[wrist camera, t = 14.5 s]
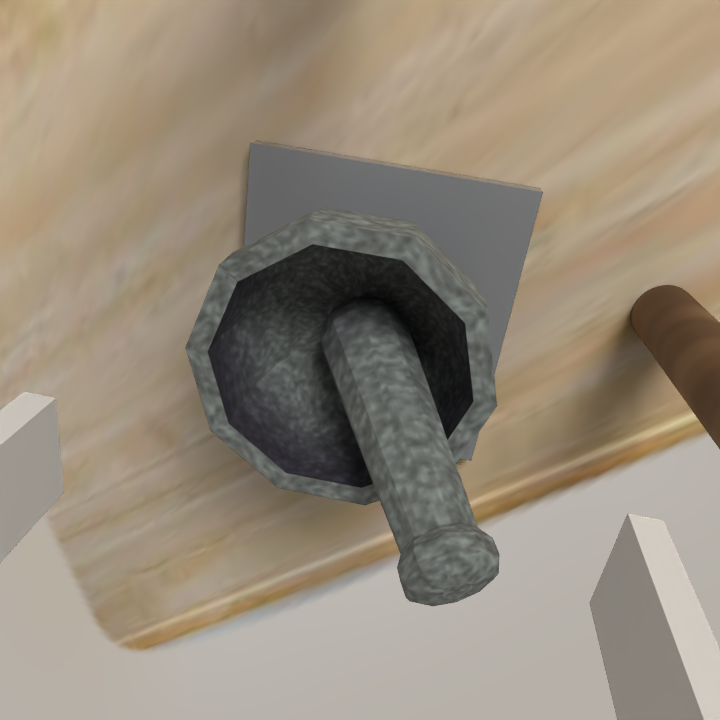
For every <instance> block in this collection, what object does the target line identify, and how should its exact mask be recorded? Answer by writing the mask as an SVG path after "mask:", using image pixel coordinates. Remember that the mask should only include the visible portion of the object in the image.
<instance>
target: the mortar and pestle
mask: <svg viewBox="0 0 720 720" xmlns="http://www.w3.org/2000/svg"><path fill="white" fill-rule="evenodd" d="M186 351H187V354H188V357H189V361H190V364H191V367H192V371H193V374H194V377H195V380H196V384H197V387H198V390H199V394H200V397H201V400H202V403H203V407H204V410H205V413H206V417H207V420H208V423H209V427H210V430H211V431H212V432H213V433H214V434H215V435H216V436H218V437H219V438H220V439H221V440H222V441H223V442H225V443H226V444H227V445H228V446H229V447H230V448H232V449H233V450H234V451H235V452H236V453H238V454H239V455H240V456H241V457H242V458H243V459H245V460H246V461H247V462H248V463H249V464H251V465H252V466H253V467H254V468H255V469H256V470H258V471H259V472H260V473H261V474H262V475H263V476H265V477H266V478H267V479H268V480H269V481H271V482H272V483H273V484H274V485H275V486H276V487H278V488H281V489H286V490H291V491H296V492H301V493H306V494H311V495H316V496H321V497H326V498H331V499H336V500H342V501H347V502H352V503H357V504H362V505H367V504H370V503H373V502H376V501H379V500H380V502H381V504H382V507H383V510H384V512H385V515H386V517H387V520H388V522H389V525H390V528H391V530H392V533H393V535H394V538H395V540H396V543H397V546H398V548H399V551H400V553H401V555H400V559H399V563H398V567H397V569H398V573H399V577H400V581H401V584H402V587H403V590H404V593H405V596H406V598H407V599H408V600H409V601H411V602H416V603H420V604H425V605H430V606H437V605H442V604H448V603H453V602H457V601H460V600H462V599H464V598H466V597H469V596H471V595H473V594H475V593H477V592H480V591H481V590H482V589H483V588H484V587H485V586H486V585H487V584H488V583H489V582H490V581H492V580H493V579H494V578H495V577H496V576H497V574H498V573H499V552H498V550H497V547H496V545H495V543H494V540H493V538H492V537H490V536H489V535H487V534H486V533H485V532H483V531H482V530H480V529H479V528H478V527H477V524H476V521H475V518H474V515H473V512H472V509H471V507H470V504H469V501H468V498H467V495H466V492H465V489H464V486H463V484H462V481H461V478H460V475H459V472H458V469H457V466H456V463H457V462H458V461H459V459H460V458H461V456H462V455H463V453H464V452H465V451H466V449H467V448H468V446H469V445H470V443H471V442H472V441H473V439H474V438H475V436H476V435H477V434H478V432H479V431H480V429H481V428H482V426H483V425H484V424H485V422H486V421H487V419H488V418H489V416H490V415H491V414H492V412H493V411H494V409H495V408H496V407H497V402H496V391H495V380H494V370H493V359H492V348H491V337H490V326H489V315H488V309H487V303H486V298H485V297H484V295H483V294H482V293H481V291H480V290H479V289H478V288H477V286H476V285H475V284H474V283H473V282H472V281H471V280H470V279H469V278H468V277H467V276H466V275H465V274H464V273H463V272H462V271H461V270H460V268H459V267H458V266H457V265H456V264H455V263H454V262H453V261H452V260H451V259H450V258H449V257H448V256H447V255H446V254H445V253H444V252H443V251H442V250H441V249H440V248H439V247H438V246H437V245H436V244H435V243H434V242H433V240H432V239H431V238H430V237H429V236H428V235H427V234H426V233H425V232H424V231H423V230H422V229H421V228H420V227H419V226H418V225H417V224H416V223H414V222H408V221H403V220H397V219H391V218H385V217H380V216H374V215H368V214H362V213H357V212H351V211H345V210H340V209H334V208H328V207H325V208H321V209H316V210H314V211H312V212H311V213H309V214H307V215H305V216H303V217H301V218H299V219H297V220H295V221H293V222H291V223H289V224H287V225H285V226H283V227H282V228H280V229H278V230H276V231H274V232H272V233H270V234H268V235H266V236H264V237H262V238H260V239H258V240H256V241H255V242H253V243H251V244H249V245H247V246H245V247H243V248H241V249H239V250H237V251H235V252H233V253H232V254H231V255H230V256H228V257H227V258H226V259H225V260H224V261H223V262H222V263H221V264H219V266H218V269H217V271H216V273H215V276H214V278H213V281H212V283H211V286H210V288H209V291H208V293H207V296H206V298H205V301H204V303H203V306H202V308H201V311H200V313H199V316H198V318H197V320H196V323H195V325H194V328H193V330H192V333H191V335H190V338H189V340H188V343H187V345H186Z"/></svg>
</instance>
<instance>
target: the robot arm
mask: <svg viewBox="0 0 720 720" xmlns="http://www.w3.org/2000/svg"><path fill="white" fill-rule="evenodd" d="M63 493H64V486H63V475H62V464H61V452H60V441H59V430H58V418H57V407H56V398H53V397H48V396H43V395H38V394H33V393H28V392H23V393H22V394H21V395H19V396H18V397H17V398H16V399H14V400H13V401H12V402H10V403H9V404H8V405H7V406H5V407H4V408H3V409H1V410H0V563H1V562H2V561H3V559H4V558H5V557H6V556H7V555H8V554H9V553H10V552H11V550H12V549H13V548H14V547H15V546H16V545H17V544H18V543H19V542H20V541H21V539H22V538H23V537H24V536H25V535H26V534H27V533H28V532H29V531H30V529H31V528H32V527H33V526H34V525H35V524H36V523H37V522H38V521H39V519H40V518H41V517H42V516H43V515H44V514H45V513H46V512H47V511H48V509H49V508H50V507H51V506H52V505H53V504H54V503H55V502H56V501H57V499H58V498H59V497H60V496H61V495H62V494H63ZM590 607H591V611H592V615H593V620H594V624H595V628H596V632H597V636H598V640H599V645H600V649H601V653H602V657H603V661H604V666H605V670H606V674H607V678H608V683H609V687H610V691H611V695H612V699H613V704H614V707H615V712H616V716H617V720H720V648H719V646H718V644H717V641H716V639H715V637H714V634H713V632H712V630H711V628H710V625H709V623H708V621H707V619H706V616H705V614H704V612H703V610H702V607H701V605H700V603H699V600H698V598H697V596H696V594H695V591H694V589H693V587H692V584H691V582H690V580H689V578H688V576H687V573H686V571H685V568H684V566H683V564H682V562H681V559H680V557H679V555H678V553H677V550H676V548H675V546H674V544H673V541H672V539H671V537H670V534H669V532H668V530H667V527H666V525H665V523H664V521H663V520H659V519H654V518H649V517H644V516H639V515H634V514H629V513H628V514H627V516H626V519H625V521H624V523H623V526H622V528H621V531H620V533H619V535H618V538H617V540H616V542H615V545H614V547H613V549H612V552H611V554H610V556H609V559H608V561H607V563H606V566H605V568H604V570H603V573H602V575H601V578H600V580H599V582H598V585H597V587H596V589H595V591H594V594H593V596H592V598H591V601H590Z"/></svg>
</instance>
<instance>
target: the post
mask: <svg viewBox="0 0 720 720" xmlns="http://www.w3.org/2000/svg"><path fill="white" fill-rule="evenodd" d="M631 322H632V325H633V328H634V330H635V331H636V332H637V334H638V335H639V337H640V338H641V339H642V341H643V342H644V344H645V345H646V346H647V348H648V349H649V351H650V352H651V353H652V355H653V356H654V358H655V359H656V360H657V362H658V363H659V365H660V366H661V367H662V369H663V370H664V372H665V373H666V374H667V376H668V377H669V379H670V380H671V381H672V383H673V384H674V386H675V387H676V388H677V390H678V391H679V393H680V394H681V395H682V397H683V398H684V400H685V401H686V402H687V404H688V405H689V407H690V408H691V410H692V411H693V412H694V414H695V415H696V417H697V418H698V419H699V421H700V422H701V424H702V425H703V426H704V428H705V429H706V431H707V432H708V433H709V435H710V436H711V438H712V439H713V440H714V442H715V443H716V445H717V446H718V447H719V449H720V323H719V322H718V321H717V320H716V319H715V318H714V317H713V316H712V315H711V314H710V313H709V312H708V311H707V310H706V309H705V308H703V307H702V306H701V305H700V304H699V303H698V302H697V301H696V300H695V299H694V298H693V297H692V296H691V295H690V294H689V293H688V292H686V291H685V290H683V289H682V288H679V287H676V286H671V285H664V286H658V287H655V288H652V289H650V290H648V291H647V292H645V293H644V294H643V295H642V296H641V297H640V298H639V299H638V300H637V301H636V303H635V305H634V307H633V309H632V313H631Z"/></svg>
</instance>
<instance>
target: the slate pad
mask: <svg viewBox="0 0 720 720" xmlns="http://www.w3.org/2000/svg"><path fill="white" fill-rule="evenodd" d="M542 193H543V191H542V190H541V189H540V188H536V187H530V186H524V185H518V184H512V183H506V182H500V181H494V180H489V179H483V178H477V177H471V176H465V175H459V174H453V173H447V172H441V171H435V170H429V169H423V168H417V167H411V166H405V165H400V164H394V163H388V162H382V161H376V160H370V159H364V158H358V157H352V156H346V155H340V154H334V153H328V152H322V151H316V150H310V149H305V148H299V147H293V146H287V145H281V144H275V143H269V142H263V141H257V140H256V141H253V142H251V143H250V157H249V173H248V188H247V204H246V219H245V235H244V247H245V246H247V245H249V244H251V243H253V242H255V241H256V240H258V239H260V238H262V237H264V236H266V235H268V234H270V233H272V232H274V231H276V230H278V229H280V228H282V227H283V226H285V225H287V224H289V223H291V222H293V221H295V220H297V219H299V218H301V217H303V216H305V215H307V214H309V213H311V212H312V211H314V210H316V209H321V208H325V207H328V208H334V209H340V210H345V211H351V212H357V213H362V214H368V215H374V216H380V217H385V218H391V219H397V220H403V221H408V222H414V223H416V224H417V225H418V226H419V227H420V228H421V229H422V230H423V231H424V232H425V233H426V234H427V235H428V236H429V237H430V238H431V239H432V240H433V242H434V243H435V244H436V245H437V246H438V247H439V248H440V249H441V250H442V251H443V252H444V253H445V254H446V255H447V256H448V257H449V258H450V259H451V260H452V261H453V262H454V263H455V264H456V265H457V266H458V267H459V268H460V270H461V271H462V272H463V273H464V274H465V275H466V276H467V277H468V278H469V279H470V280H471V281H472V282H473V283H474V284H475V285H476V286H477V288H478V289H479V290H480V291H481V293H482V294H483V295H484V297H485V298H486V303H487V309H488V315H489V326H490V337H491V348H492V359H493V370H494V374H495V370H496V366H497V362H498V359H499V355H500V351H501V347H502V344H503V340H504V336H505V332H506V329H507V325H508V321H509V317H510V314H511V310H512V306H513V302H514V299H515V295H516V291H517V287H518V284H519V280H520V276H521V272H522V268H523V265H524V261H525V257H526V253H527V250H528V246H529V242H530V238H531V235H532V231H533V227H534V223H535V220H536V216H537V212H538V208H539V205H540V201H541V197H542ZM478 434H479V432H478ZM478 434H477V435H476V436H475V438H474V439H473V441H472V442H471V443H470V445H469V446H468V448H467V449H466V451H465V452H464V453H463V455H462V456H461V458H460V459H464V460H470V461H471V460H472V456H473V452H474V449H475V445H476V441H477V437H478Z"/></svg>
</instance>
